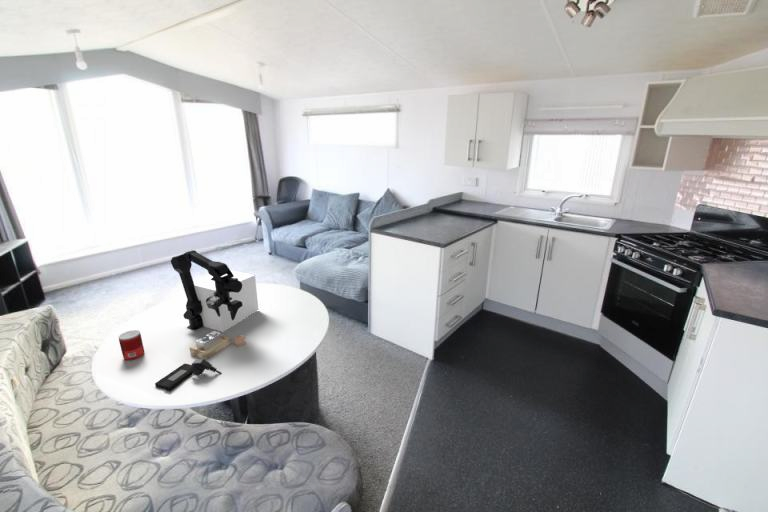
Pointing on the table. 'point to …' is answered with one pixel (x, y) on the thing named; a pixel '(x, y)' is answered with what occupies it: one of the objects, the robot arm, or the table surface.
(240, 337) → the peach cylinder
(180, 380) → the vhs tape
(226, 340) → the stand
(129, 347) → the canned food
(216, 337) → the housing
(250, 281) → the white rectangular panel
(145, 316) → the table surface
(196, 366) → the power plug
